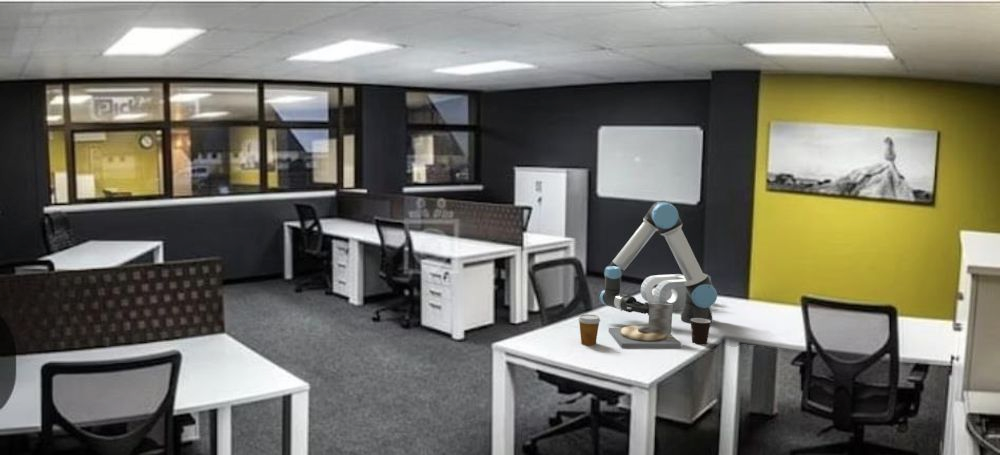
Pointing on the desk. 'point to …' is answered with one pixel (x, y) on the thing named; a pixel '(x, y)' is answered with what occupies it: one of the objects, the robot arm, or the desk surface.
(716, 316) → the desk surface
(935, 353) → the desk surface
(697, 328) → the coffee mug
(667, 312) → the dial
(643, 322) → the desk surface
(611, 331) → the base
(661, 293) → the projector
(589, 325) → the disposable coffee cup
